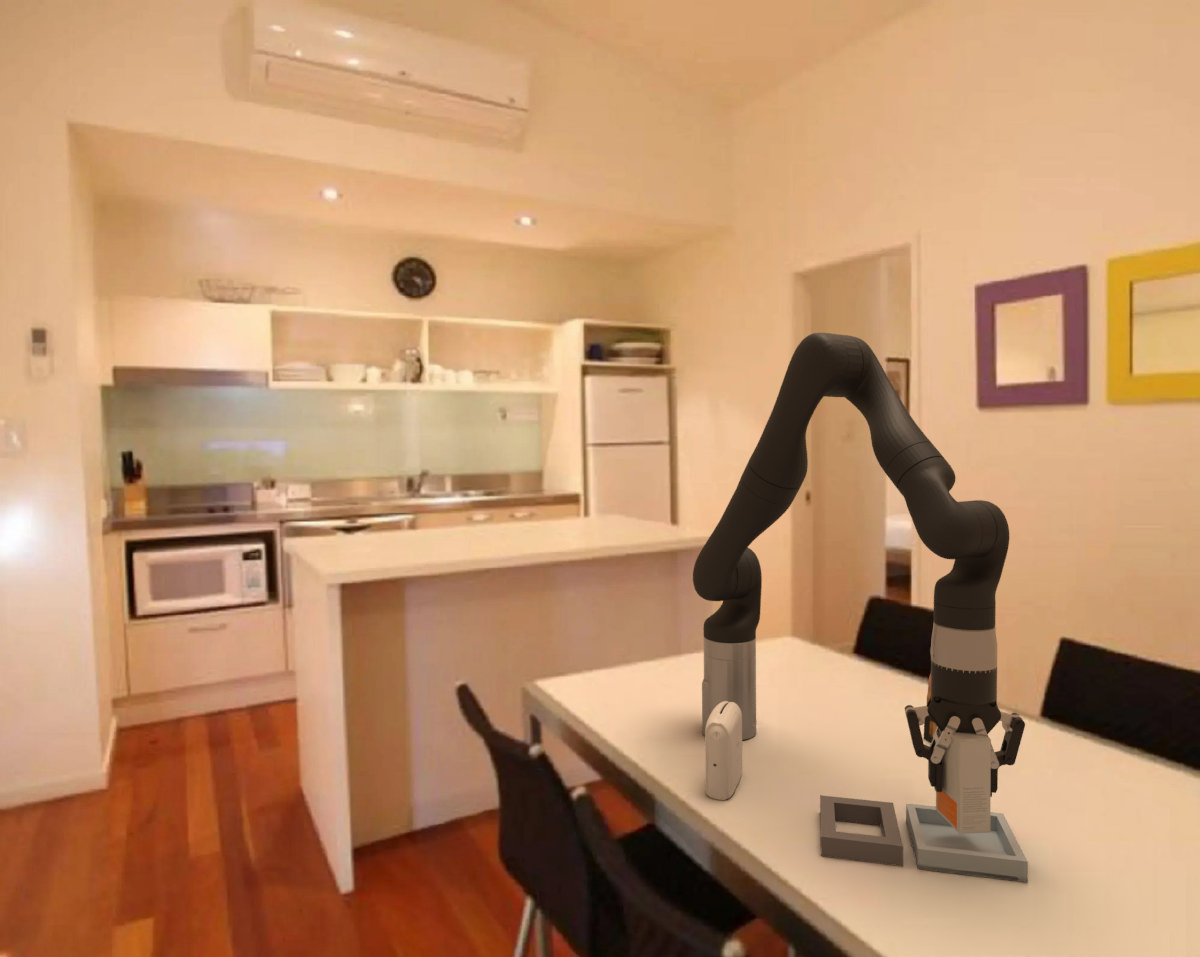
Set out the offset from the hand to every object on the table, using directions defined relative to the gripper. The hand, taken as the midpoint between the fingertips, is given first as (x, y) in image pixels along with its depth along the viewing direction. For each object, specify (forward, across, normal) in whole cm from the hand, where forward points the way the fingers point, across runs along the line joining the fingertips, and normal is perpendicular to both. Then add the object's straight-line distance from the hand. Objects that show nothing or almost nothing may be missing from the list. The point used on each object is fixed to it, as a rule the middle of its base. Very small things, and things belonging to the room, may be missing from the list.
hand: (962, 791), depth 98 cm
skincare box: (+4, 0, 0) cm, 4 cm away
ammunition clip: (+8, +4, +33) cm, 34 cm away
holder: (+8, -12, 0) cm, 15 cm away
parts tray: (+8, 0, 0) cm, 8 cm away
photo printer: (+8, -31, +11) cm, 34 cm away
